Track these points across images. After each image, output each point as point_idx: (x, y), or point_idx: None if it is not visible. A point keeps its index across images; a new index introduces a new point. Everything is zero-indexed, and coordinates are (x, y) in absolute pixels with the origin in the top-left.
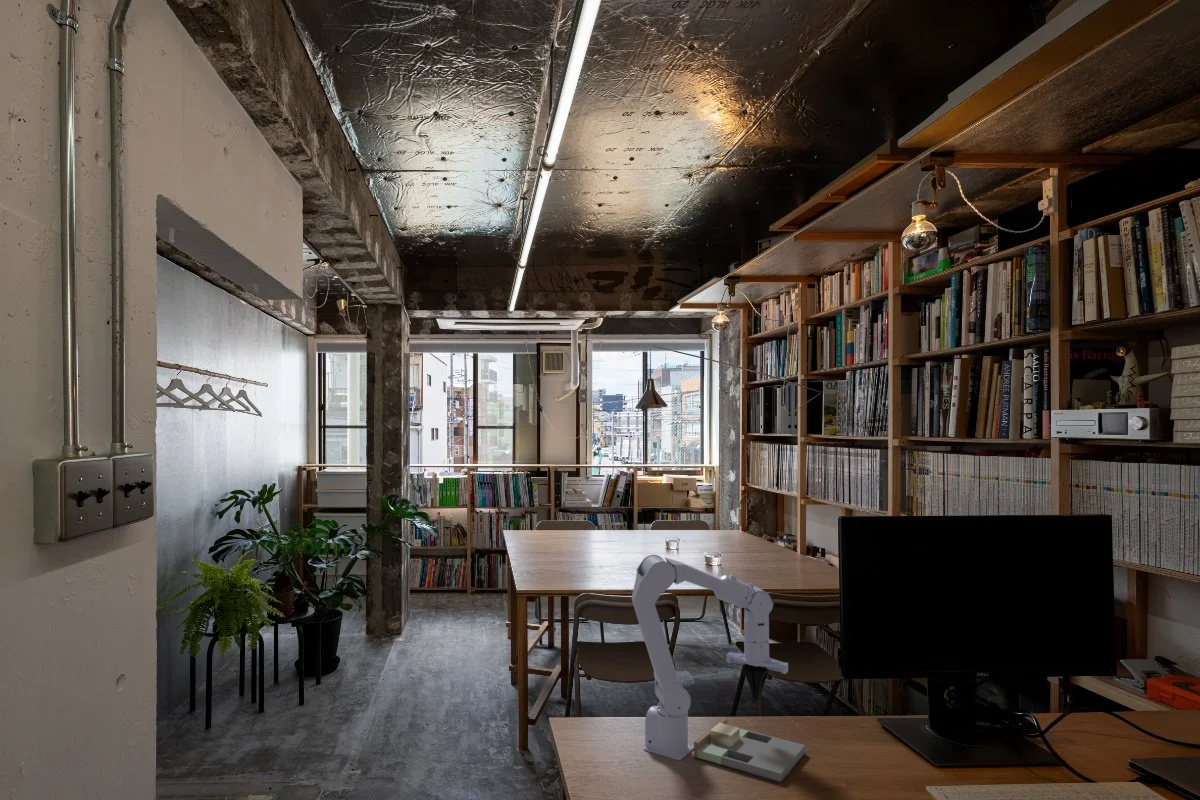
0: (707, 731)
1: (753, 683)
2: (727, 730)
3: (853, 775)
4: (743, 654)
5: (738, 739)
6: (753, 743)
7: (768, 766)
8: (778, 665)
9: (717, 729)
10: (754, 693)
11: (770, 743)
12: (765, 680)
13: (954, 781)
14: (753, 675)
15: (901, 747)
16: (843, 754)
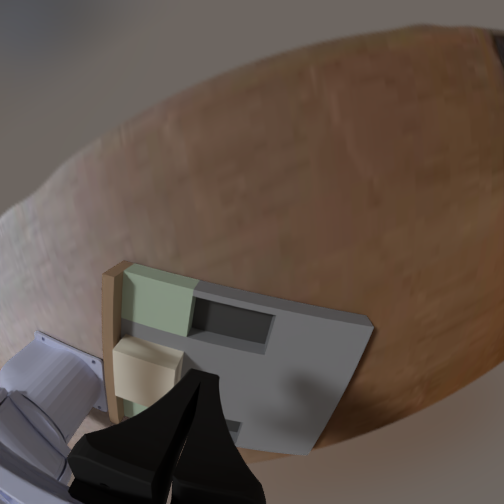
0: (105, 374)
1: (175, 467)
2: (151, 390)
3: (446, 359)
4: (3, 487)
5: (182, 358)
6: (227, 367)
7: (281, 444)
8: None
9: (126, 389)
10: (190, 427)
11: (274, 353)
12: (231, 438)
13: None
14: (164, 501)
15: None
16: (451, 271)
